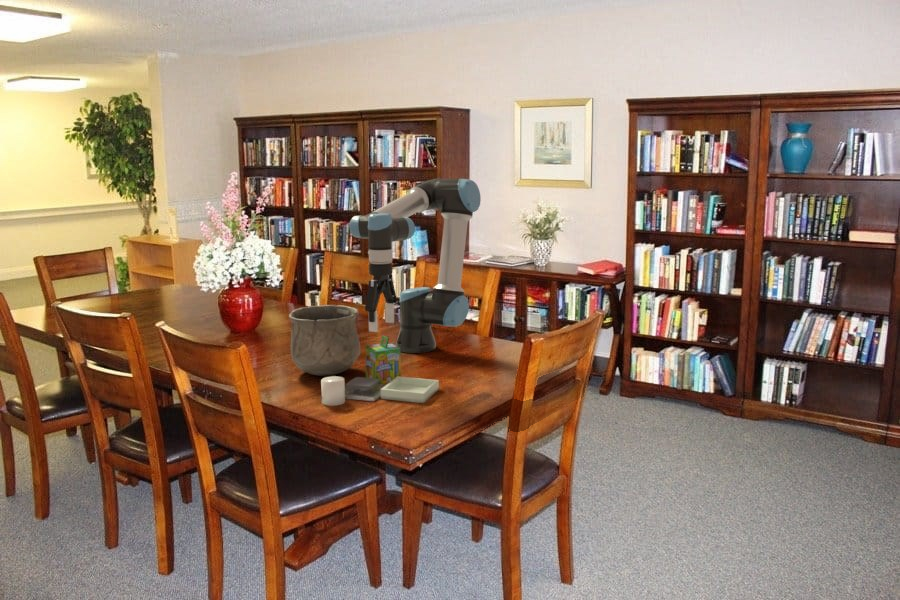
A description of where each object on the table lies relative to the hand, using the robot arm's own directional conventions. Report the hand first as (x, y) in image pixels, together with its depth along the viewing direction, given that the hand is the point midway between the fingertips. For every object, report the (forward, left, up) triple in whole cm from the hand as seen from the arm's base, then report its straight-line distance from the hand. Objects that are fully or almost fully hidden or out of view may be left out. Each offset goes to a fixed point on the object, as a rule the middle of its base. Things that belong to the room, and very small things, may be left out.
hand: (381, 327), depth 251 cm
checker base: (+14, -1, -18) cm, 23 cm away
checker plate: (+14, -1, -15) cm, 21 cm away
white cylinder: (+24, -6, -18) cm, 31 cm away
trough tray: (+10, +14, -18) cm, 25 cm away
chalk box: (0, 0, -18) cm, 18 cm away
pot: (-2, -22, -18) cm, 29 cm away
